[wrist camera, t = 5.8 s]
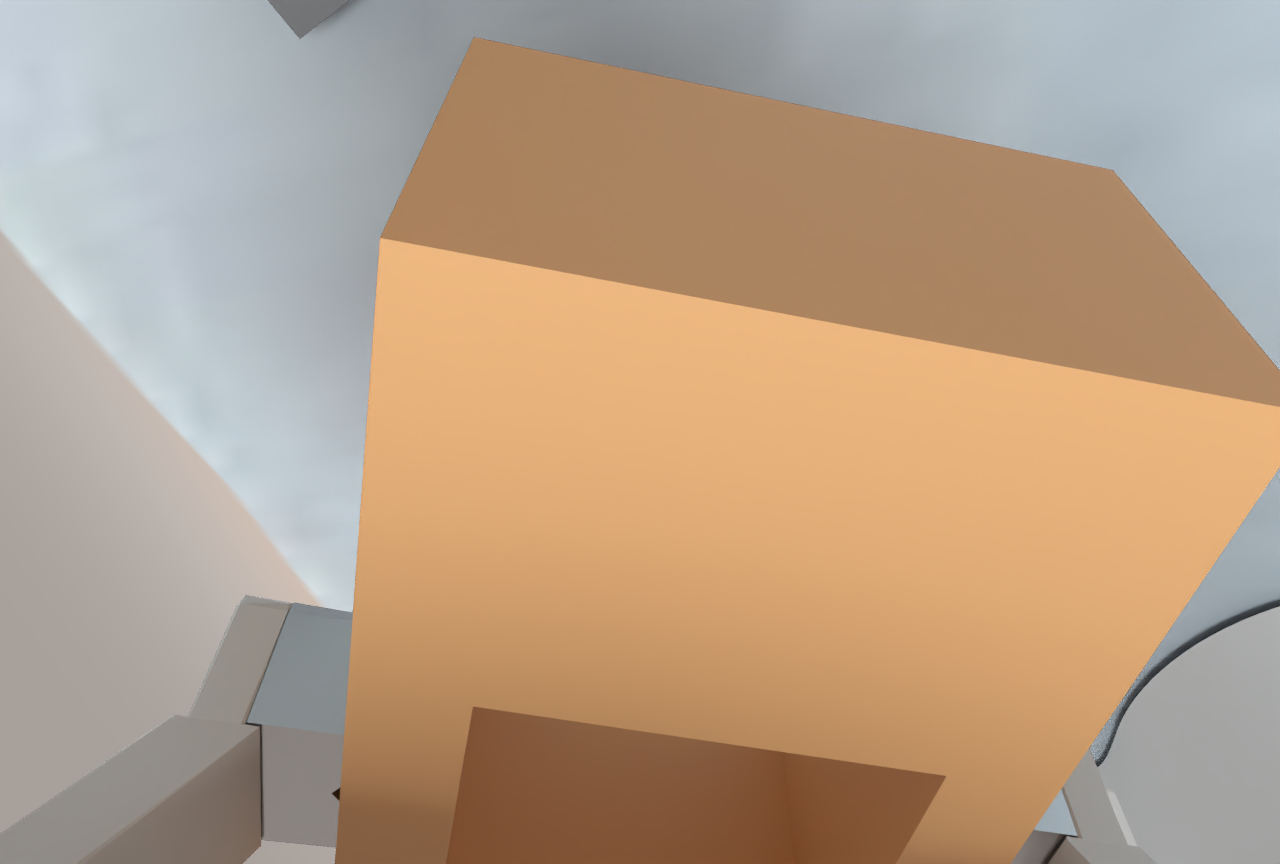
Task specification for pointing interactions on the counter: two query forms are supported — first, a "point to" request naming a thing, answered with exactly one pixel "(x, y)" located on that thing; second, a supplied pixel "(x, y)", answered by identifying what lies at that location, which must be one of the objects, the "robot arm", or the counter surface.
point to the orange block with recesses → (765, 480)
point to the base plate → (305, 12)
